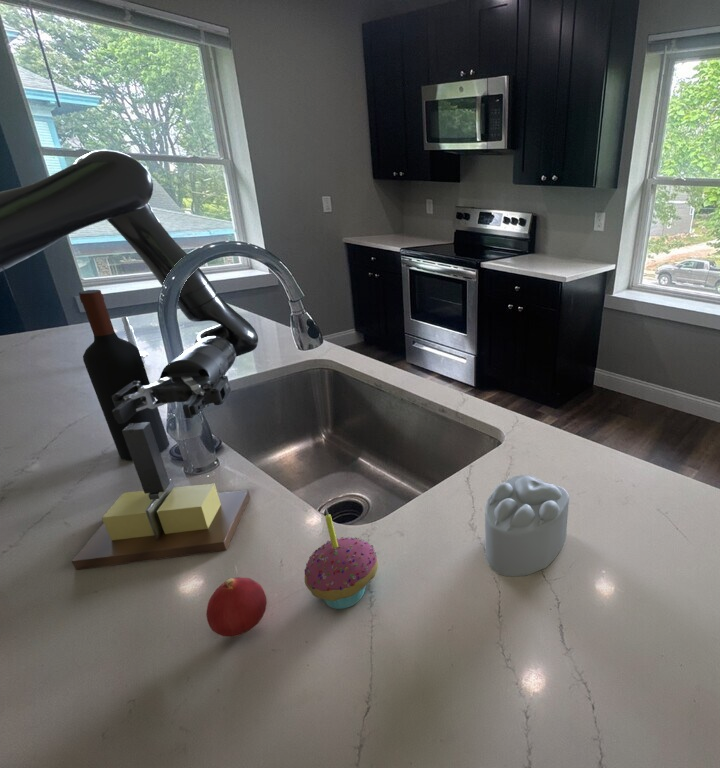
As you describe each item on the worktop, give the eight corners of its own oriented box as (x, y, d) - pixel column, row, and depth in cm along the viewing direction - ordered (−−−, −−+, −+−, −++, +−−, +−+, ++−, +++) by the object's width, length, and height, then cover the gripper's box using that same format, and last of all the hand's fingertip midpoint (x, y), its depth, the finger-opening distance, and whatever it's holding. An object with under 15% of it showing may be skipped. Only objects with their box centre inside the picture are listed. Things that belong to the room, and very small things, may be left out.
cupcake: (298, 592, 59) (281, 516, 54) (360, 557, 64) (350, 486, 60) (329, 636, 53) (313, 556, 48) (394, 594, 59) (385, 519, 54)
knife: (147, 540, 64) (109, 441, 58) (171, 505, 71) (139, 413, 65) (166, 538, 65) (131, 440, 58) (188, 503, 72) (159, 412, 65)
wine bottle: (120, 465, 83) (57, 299, 71) (118, 447, 88) (59, 290, 76) (171, 451, 87) (120, 293, 75) (166, 435, 93) (118, 284, 80)
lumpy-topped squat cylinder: (574, 531, 70) (578, 483, 67) (532, 590, 60) (535, 538, 56) (515, 506, 75) (516, 461, 72) (467, 557, 65) (465, 507, 61)
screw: (129, 367, 124) (127, 362, 127) (151, 363, 127) (148, 358, 130) (113, 319, 118) (111, 315, 121) (136, 316, 121) (134, 312, 124)
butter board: (75, 570, 61) (71, 561, 61) (123, 511, 72) (119, 503, 71) (226, 550, 65) (223, 542, 64) (250, 497, 76) (248, 489, 75)
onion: (220, 616, 55) (203, 565, 52) (273, 602, 57) (261, 553, 54) (210, 660, 50) (191, 607, 47) (269, 643, 52) (255, 591, 49)
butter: (111, 540, 64) (101, 517, 63) (131, 514, 69) (123, 492, 67) (208, 528, 67) (201, 506, 65) (221, 504, 72) (214, 483, 70)
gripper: (143, 353, 77) (85, 394, 63) (238, 348, 80) (202, 387, 66) (156, 394, 80) (103, 442, 66) (247, 388, 83) (215, 433, 69)
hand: (153, 415), depth 66 cm, fingers open, 8 cm apart
